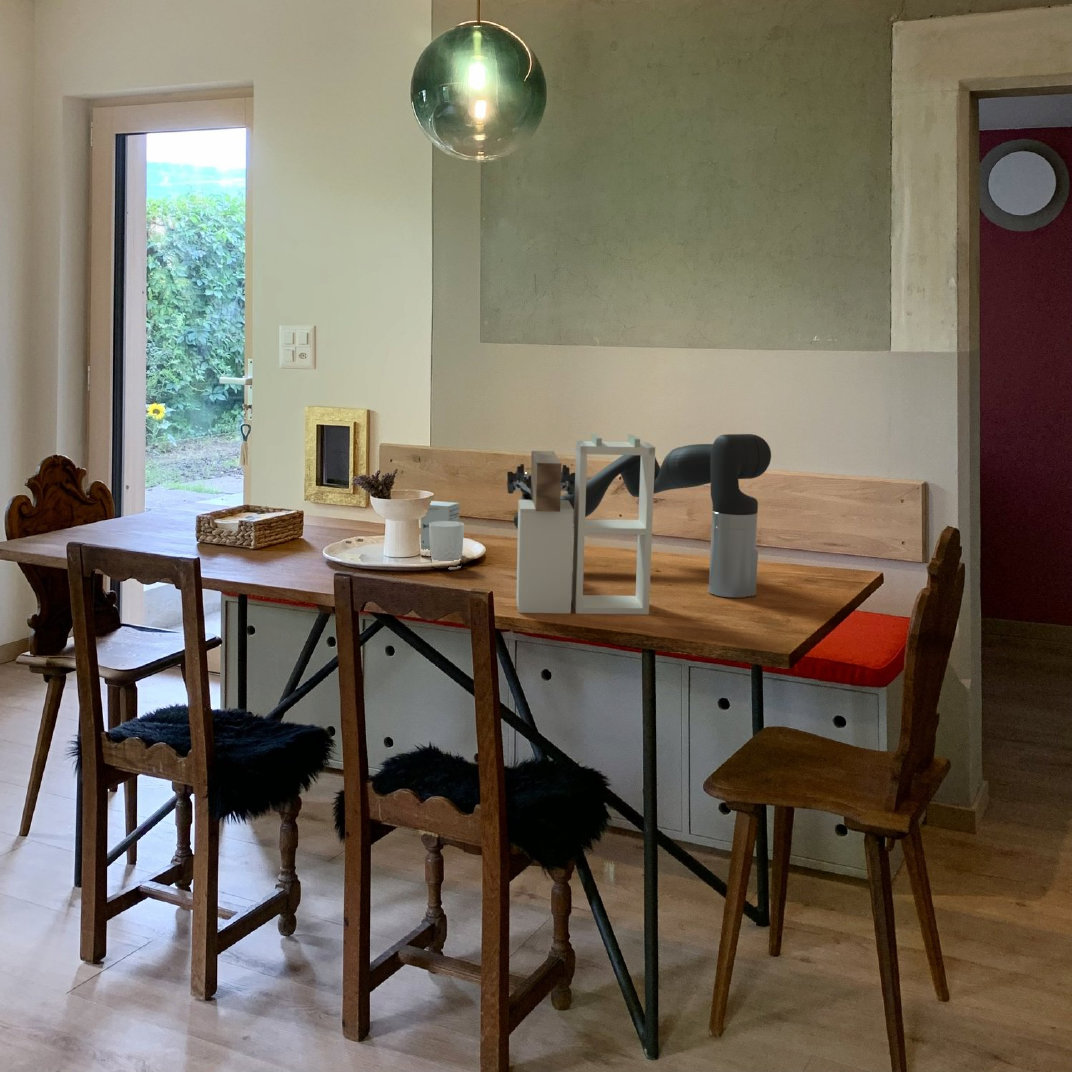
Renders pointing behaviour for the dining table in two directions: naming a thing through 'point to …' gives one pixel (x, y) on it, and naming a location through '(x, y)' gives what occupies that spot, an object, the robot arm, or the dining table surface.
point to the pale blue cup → (446, 541)
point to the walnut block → (546, 481)
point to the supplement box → (437, 518)
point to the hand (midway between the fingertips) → (543, 468)
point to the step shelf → (582, 542)
